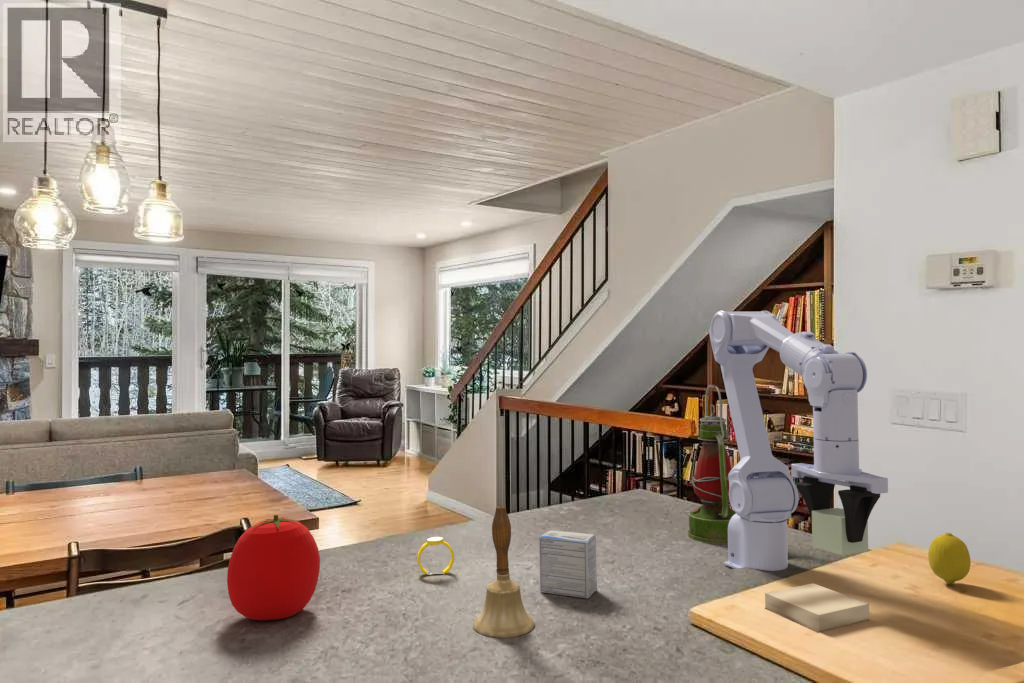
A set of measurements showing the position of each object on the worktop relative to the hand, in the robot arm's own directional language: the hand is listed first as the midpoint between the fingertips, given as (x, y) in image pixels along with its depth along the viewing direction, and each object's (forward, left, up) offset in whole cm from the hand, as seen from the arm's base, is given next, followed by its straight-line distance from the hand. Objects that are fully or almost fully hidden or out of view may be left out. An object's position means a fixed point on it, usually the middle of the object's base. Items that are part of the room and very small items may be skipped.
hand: (838, 536), depth 96 cm
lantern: (-39, +11, -11) cm, 42 cm away
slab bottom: (+2, -6, -11) cm, 13 cm away
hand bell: (-15, -44, -11) cm, 48 cm away
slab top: (+2, -6, -9) cm, 11 cm away
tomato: (-32, -72, -11) cm, 80 cm away
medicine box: (-23, -30, -11) cm, 40 cm away
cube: (0, 0, -2) cm, 2 cm away
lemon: (-1, +25, -11) cm, 27 cm away
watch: (-40, -46, -11) cm, 62 cm away
